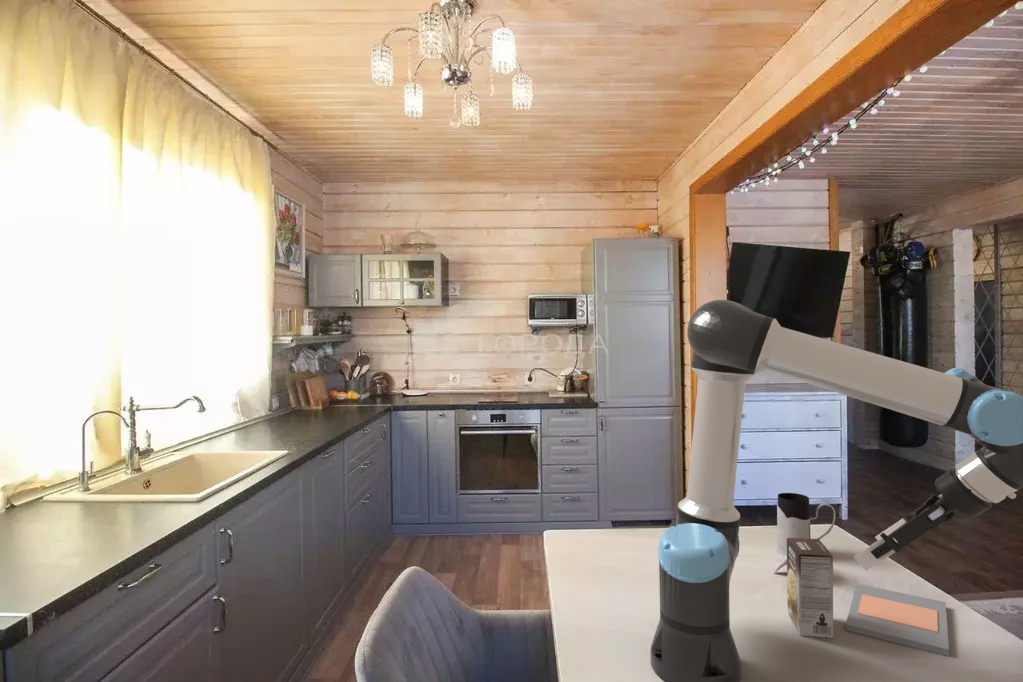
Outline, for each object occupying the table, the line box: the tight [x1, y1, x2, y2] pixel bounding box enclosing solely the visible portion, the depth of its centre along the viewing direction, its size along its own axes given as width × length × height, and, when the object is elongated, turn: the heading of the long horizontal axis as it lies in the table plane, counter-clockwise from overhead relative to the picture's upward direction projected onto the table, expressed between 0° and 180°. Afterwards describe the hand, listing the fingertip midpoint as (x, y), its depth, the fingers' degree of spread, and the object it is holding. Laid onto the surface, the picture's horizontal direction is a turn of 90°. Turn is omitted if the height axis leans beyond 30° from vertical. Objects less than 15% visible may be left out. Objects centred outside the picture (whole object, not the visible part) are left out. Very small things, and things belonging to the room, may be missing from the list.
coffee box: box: [786, 538, 834, 639], centre depth 113 cm, size 9×6×16 cm
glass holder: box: [775, 492, 836, 556], centre depth 149 cm, size 9×14×15 cm, turn 70°
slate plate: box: [845, 583, 950, 657], centre depth 115 cm, size 22×16×1 cm
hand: (871, 552), depth 105 cm, fingers open, 13 cm apart
